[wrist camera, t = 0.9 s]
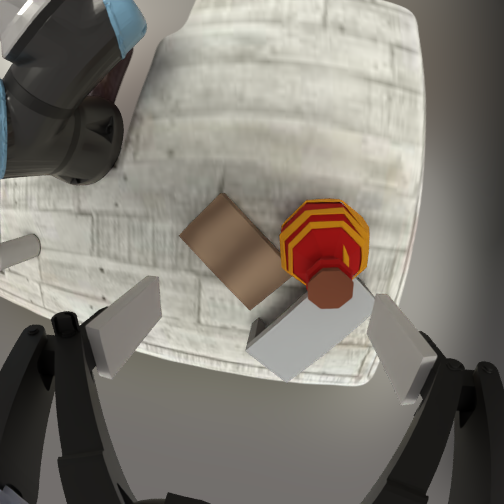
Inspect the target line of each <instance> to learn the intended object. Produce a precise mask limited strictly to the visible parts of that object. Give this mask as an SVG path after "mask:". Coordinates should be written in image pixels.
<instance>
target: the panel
mask: <svg viewBox="0 0 504 504" xmlns="http://www.w3.org/2000/svg"><path fill="white" fill-rule="evenodd" d="M179 236H180V238H181V239H182V240H183V241H184V242H185V243H186V244H187V245H188V246H189V247H190V248H191V250H192V251H193V252H194V253H195V254H196V255H197V256H198V257H199V258H200V259H201V260H202V261H203V262H204V263H205V265H206V266H207V267H208V268H209V269H210V270H211V271H212V272H213V273H214V274H215V275H216V276H217V277H218V278H219V279H220V280H221V281H222V282H223V283H224V284H225V285H226V287H227V288H228V289H229V290H230V291H231V292H232V293H233V294H234V295H235V296H236V297H237V298H238V299H239V300H240V301H241V302H242V303H243V304H244V305H245V306H246V307H247V308H248V309H249V310H251V309H253V308H254V307H255V306H256V305H258V304H259V303H260V302H261V301H263V300H264V299H265V298H266V297H267V296H269V295H270V294H271V293H272V292H274V291H275V290H276V289H277V288H278V287H280V286H281V285H282V284H283V283H285V282H286V281H287V280H288V279H289V278H291V277H292V275H290V274H289V273H287V272H286V271H285V270H284V269H283V268H282V267H281V253H280V252H279V251H278V250H277V249H276V248H275V247H274V246H273V245H272V244H271V242H270V241H269V240H268V239H267V238H266V237H265V236H264V235H263V234H262V233H261V232H260V230H259V229H258V228H257V227H256V226H255V225H254V224H253V223H252V222H251V221H250V220H249V219H248V218H247V216H246V215H245V214H244V213H243V212H242V211H241V210H240V209H239V208H238V207H237V206H236V205H235V204H234V203H233V201H232V200H231V199H230V198H229V197H228V196H227V195H226V194H225V193H220V194H219V195H218V196H217V197H216V198H215V199H214V200H213V201H212V202H211V203H210V204H209V205H208V206H207V207H206V208H205V209H204V210H203V211H202V212H201V213H200V214H199V215H198V216H197V217H196V218H195V219H194V220H193V221H192V222H191V223H190V224H189V225H188V227H187V228H186V229H185V230H184V231H183V232H182V233H181V234H180V235H179Z"/></svg>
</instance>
